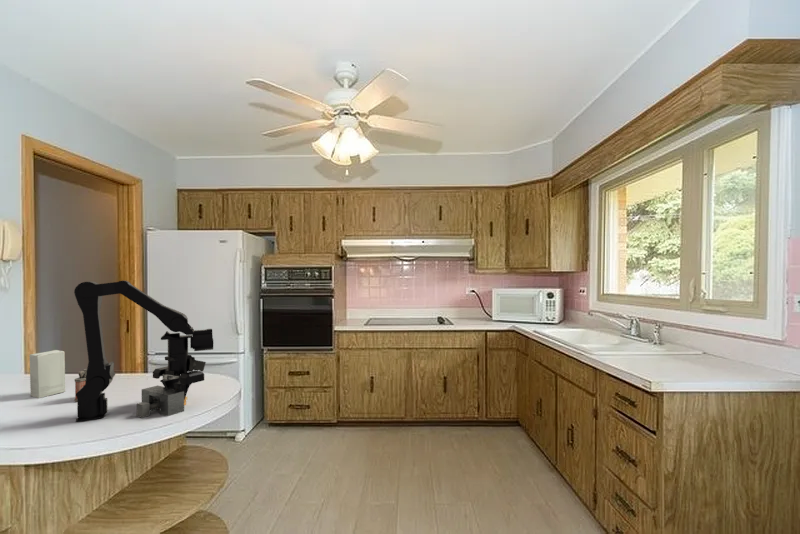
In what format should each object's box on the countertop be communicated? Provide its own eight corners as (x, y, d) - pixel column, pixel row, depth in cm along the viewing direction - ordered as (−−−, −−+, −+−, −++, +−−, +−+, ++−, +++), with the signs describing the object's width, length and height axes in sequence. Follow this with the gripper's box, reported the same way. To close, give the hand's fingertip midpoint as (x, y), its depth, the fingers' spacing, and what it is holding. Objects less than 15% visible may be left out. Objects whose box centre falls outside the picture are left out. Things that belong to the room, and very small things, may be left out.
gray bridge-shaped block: (168, 416, 123) (167, 395, 123) (141, 408, 130) (141, 389, 130) (184, 411, 127) (184, 391, 127) (157, 404, 134) (157, 385, 134)
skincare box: (57, 390, 153) (57, 349, 153) (66, 392, 150) (66, 350, 150) (28, 396, 145) (28, 353, 145) (37, 398, 142) (37, 354, 142)
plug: (142, 417, 122) (142, 405, 122) (136, 415, 123) (136, 403, 123) (188, 404, 134) (188, 392, 134) (182, 402, 136) (182, 391, 136)
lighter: (80, 402, 137) (80, 371, 137) (71, 402, 138) (71, 371, 138) (102, 395, 145) (102, 366, 145) (94, 395, 146) (94, 366, 146)
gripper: (219, 350, 135) (219, 399, 135) (184, 346, 145) (184, 391, 144) (186, 357, 126) (187, 409, 125) (151, 351, 135) (151, 400, 135)
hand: (178, 402), depth 133 cm, fingers closed on plug, 3 cm apart
